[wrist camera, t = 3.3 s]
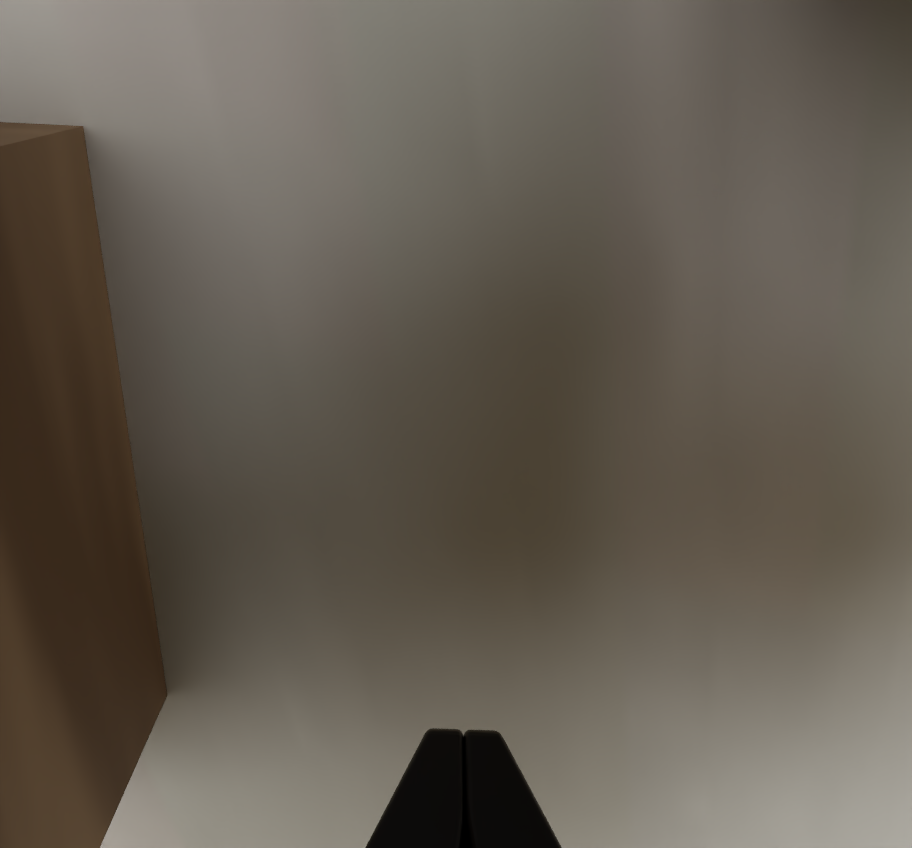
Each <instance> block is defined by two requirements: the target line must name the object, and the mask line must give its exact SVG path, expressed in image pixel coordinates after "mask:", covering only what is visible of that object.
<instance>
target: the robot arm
mask: <svg viewBox="0 0 912 848" xmlns="http://www.w3.org/2000/svg"><path fill="white" fill-rule="evenodd" d="M366 848H562V847H561V845H560V844H559V842H558V840H557V838H556V836H555V834H554V832H553V830H552V829H551V827H550V825H549V823H548V821H547V819H546V817H545V815H544V814H543V812H542V810H541V808H540V806H539V804H538V802H537V800H536V799H535V797H534V795H533V793H532V791H531V789H530V787H529V785H528V784H527V782H526V780H525V778H524V776H523V774H522V772H521V770H520V769H519V767H518V765H517V763H516V761H515V759H514V757H513V755H512V754H511V752H510V750H509V748H508V746H507V744H506V742H505V740H504V739H503V737H502V736H501V734H500V733H499V732H497V731H490V730H468V731H466V732H465V734H464V736H463V734H462V732H461V731H460V730H458V729H437V728H433V729H429V730H428V731H427V732H426V733H425V735H424V736H423V738H422V740H421V742H420V744H419V746H418V748H417V750H416V752H415V754H414V756H413V757H412V759H411V761H410V763H409V765H408V767H407V769H406V771H405V773H404V775H403V777H402V779H401V781H400V782H399V784H398V786H397V788H396V790H395V792H394V794H393V796H392V798H391V800H390V802H389V804H388V805H387V807H386V809H385V811H384V813H383V815H382V817H381V819H380V821H379V823H378V825H377V827H376V829H375V830H374V832H373V834H372V836H371V838H370V840H369V842H368V844H367V846H366Z"/></svg>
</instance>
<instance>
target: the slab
mask: <svg viewBox="0 0 912 848" xmlns="http://www.w3.org/2000/svg"><path fill="white" fill-rule="evenodd" d="M166 697H167V690H166V683H165V676H164V670H163V663H162V656H161V649H160V643H159V636H158V629H157V622H156V616H155V609H154V602H153V595H152V589H151V582H150V575H149V568H148V562H147V555H146V548H145V541H144V535H143V528H142V521H141V514H140V508H139V501H138V494H137V487H136V481H135V474H134V467H133V460H132V454H131V447H130V440H129V434H128V427H127V420H126V413H125V407H124V400H123V393H122V386H121V380H120V373H119V366H118V359H117V353H116V346H115V339H114V332H113V326H112V319H111V312H110V305H109V299H108V292H107V285H106V278H105V272H104V265H103V258H102V251H101V245H100V238H99V231H98V224H97V218H96V211H95V204H94V197H93V191H92V184H91V177H90V170H89V164H88V157H87V150H86V143H85V137H84V130H83V126H68V125H47V124H26V123H5V122H0V848H100V846H101V843H102V841H103V839H104V837H105V834H106V832H107V830H108V828H109V825H110V823H111V821H112V819H113V816H114V814H115V812H116V810H117V807H118V805H119V803H120V801H121V798H122V796H123V794H124V791H125V789H126V787H127V785H128V782H129V780H130V778H131V776H132V773H133V771H134V769H135V767H136V764H137V762H138V760H139V758H140V755H141V753H142V751H143V749H144V746H145V744H146V742H147V740H148V737H149V735H150V733H151V731H152V728H153V726H154V724H155V721H156V719H157V717H158V715H159V712H160V710H161V708H162V706H163V703H164V701H165V699H166Z"/></svg>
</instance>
